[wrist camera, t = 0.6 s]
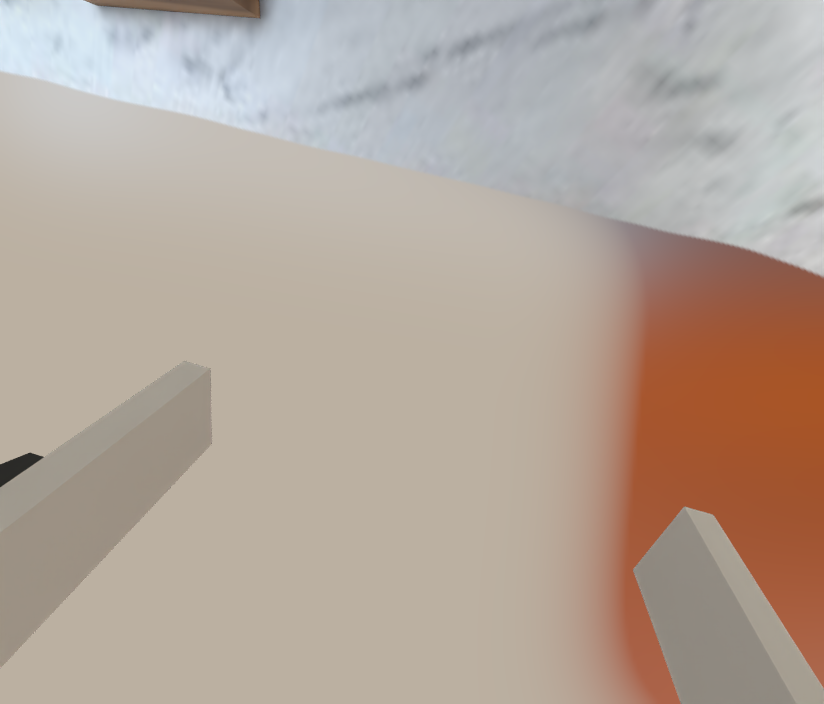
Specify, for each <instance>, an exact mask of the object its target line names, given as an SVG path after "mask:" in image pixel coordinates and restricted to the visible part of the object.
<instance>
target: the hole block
mask: <svg viewBox="0 0 824 704" xmlns="http://www.w3.org/2000/svg"><path fill="white" fill-rule="evenodd" d="M85 1H87V2H90V3H92V4H95V5H98V6H111V7H124V8H137V9H149V10H162V11H175V12H188V13H201V14H213V15H226V16H239V17H252V18H260V8H259V0H85Z"/></svg>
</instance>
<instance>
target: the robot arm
mask: <svg viewBox="0 0 824 704" xmlns="http://www.w3.org/2000/svg"><path fill="white" fill-rule="evenodd" d="M210 373H211V370H210V368H207V367H203V366H200V365H197V364H193V363H190V362H186V361H183V362H182V363H181V364H179V365H178V366H176V367H175V368H173V369H172V370H170V371H169V372H167V373H166V374H165V375H163V376H162V377H160V378H159V379H157V380H156V381H154V382H153V383H151V384H150V385H149V386H147V387H146V388H145V389H143V390H141V391H140V392H138V393H137V394H135V395H134V396H132V397H131V398H130V399H128V400H127V401H125V402H124V403H122V404H121V405H119V406H118V407H116V408H115V409H114V410H112V411H111V412H109V413H108V414H106V415H105V416H103V417H102V418H101V419H99V420H98V421H96V422H95V423H93V424H92V425H90V426H89V427H87V428H86V429H85V430H83V431H82V432H80V433H79V434H77V435H76V436H74V437H73V438H72V439H70V440H69V441H67V442H66V443H64V444H63V445H61V446H60V447H58V448H57V449H56V450H54V451H53V452H51V453H50V454H48V455H47V456H45V457H42V456H39V455H36V454H32V453H28V454H25V455H23V456H20V457H18V458H15V459H13V460H10V461H8V462H5V463H3V464H0V668H1V667H2V666H3V665H4V664H5V663H6V662H7V661H8V660H9V659H10V657H11V656H12V655H13V654H14V653H15V652H16V651H17V650H18V649H19V648H20V647H21V646H22V645H23V644H24V643H25V642H26V640H27V639H28V638H29V637H30V636H31V635H32V634H33V633H34V632H35V631H36V630H37V629H38V628H39V627H40V626H41V624H42V623H43V622H44V621H45V620H46V619H47V618H48V617H49V616H50V615H51V614H52V613H53V612H54V611H55V610H56V608H58V607H59V605H60V604H61V603H62V602H63V601H64V600H65V599H66V598H67V597H68V596H69V595H70V594H71V593H72V592H73V591H74V590H75V588H76V587H77V586H78V585H79V584H80V583H81V582H82V581H83V580H84V579H85V578H86V577H87V576H88V574H90V572H91V571H92V570H93V569H94V568H95V567H96V566H97V565H98V564H99V563H100V562H101V561H102V560H103V559H104V558H105V557H106V555H107V554H108V553H109V552H110V551H111V550H112V549H113V548H114V547H115V546H116V545H117V544H118V543H119V542H120V541H121V539H123V537H124V536H125V535H126V534H127V533H128V532H129V531H130V530H131V529H132V528H133V527H134V526H135V525H136V524H137V523H138V522H139V520H140V519H141V518H142V517H143V516H144V515H145V514H146V513H147V512H148V511H149V510H150V509H151V508H152V507H153V506H154V504H156V502H157V501H158V500H159V499H160V498H161V497H162V496H163V495H164V494H165V493H166V492H167V491H168V490H169V489H170V488H171V486H172V485H173V484H174V483H175V482H176V481H177V480H178V479H179V478H180V477H181V476H182V475H183V474H184V473H185V472H186V471H187V470H188V468H189V467H190V466H191V465H192V464H193V463H194V462H195V461H196V460H197V459H198V458H199V457H200V456H201V455H202V454H203V453H204V451H205V450H206V449H207V448H208V447H209V446H210V445H211V444H212V428H211V427H212V425H211V377H210V376H211V374H210ZM633 571H634V574H635V576H636V579H637V582H638V585H639V588H640V591H641V593H642V596H643V599H644V601H645V604H646V607H647V610H648V613H649V616H650V618H651V621H652V624H653V627H654V630H655V632H656V635H657V638H658V640H659V644H660V647H661V649H662V652H663V655H664V658H665V661H666V663H667V666H668V669H669V672H670V674H671V677H672V680H673V683H674V686H675V688H676V691H677V694H678V697H679V700H680V702H681V704H824V689H823V687H822V685H821V684H820V682H819V681H818V679H817V678H816V676H815V674H814V673H813V672H812V670H811V668H810V666H809V665H808V663H807V662H806V660H805V659H804V657H803V655H802V654H801V652H800V651H799V649H798V648H797V646H796V644H795V643H794V641H793V640H792V638H791V636H790V635H789V634H788V632H787V630H786V629H785V627H784V625H783V624H782V622H781V621H780V619H779V618H778V616H777V614H776V613H775V611H774V610H773V608H772V607H771V605H770V603H769V602H768V600H767V599H766V597H765V596H764V594H763V592H762V591H761V589H760V588H759V586H758V585H757V583H756V581H755V580H754V578H753V577H752V575H751V573H750V572H749V570H748V569H747V567H746V566H745V564H744V562H743V561H742V560H741V558H740V556H739V555H738V553H737V551H736V550H735V548H734V547H733V545H732V544H731V542H730V540H729V539H728V538H727V536H726V534H725V533H724V531H723V529H722V528H721V526H720V525H719V524H718V522H717V520H716V519H715V517H714V515H711V514H708V513H705V512H701V511H698V510H694V509H691V508H687V507H684V508H683V509H682V510H681V511H680V512H679V514H678V515H677V516H676V517H675V519H674V520H673V521H672V522H671V524H670V525H669V526H668V527H667V528H666V530H665V531H664V532H663V533H662V535H661V536H660V537H659V538H658V540H657V541H656V542H655V543H654V545H653V546H652V547H651V548H650V549H649V551H648V552H647V553H646V554H645V556H644V557H643V558H642V559H641V561H640V562H639V563H638V564H637V565H636V567H635V568H634V569H633Z"/></svg>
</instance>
